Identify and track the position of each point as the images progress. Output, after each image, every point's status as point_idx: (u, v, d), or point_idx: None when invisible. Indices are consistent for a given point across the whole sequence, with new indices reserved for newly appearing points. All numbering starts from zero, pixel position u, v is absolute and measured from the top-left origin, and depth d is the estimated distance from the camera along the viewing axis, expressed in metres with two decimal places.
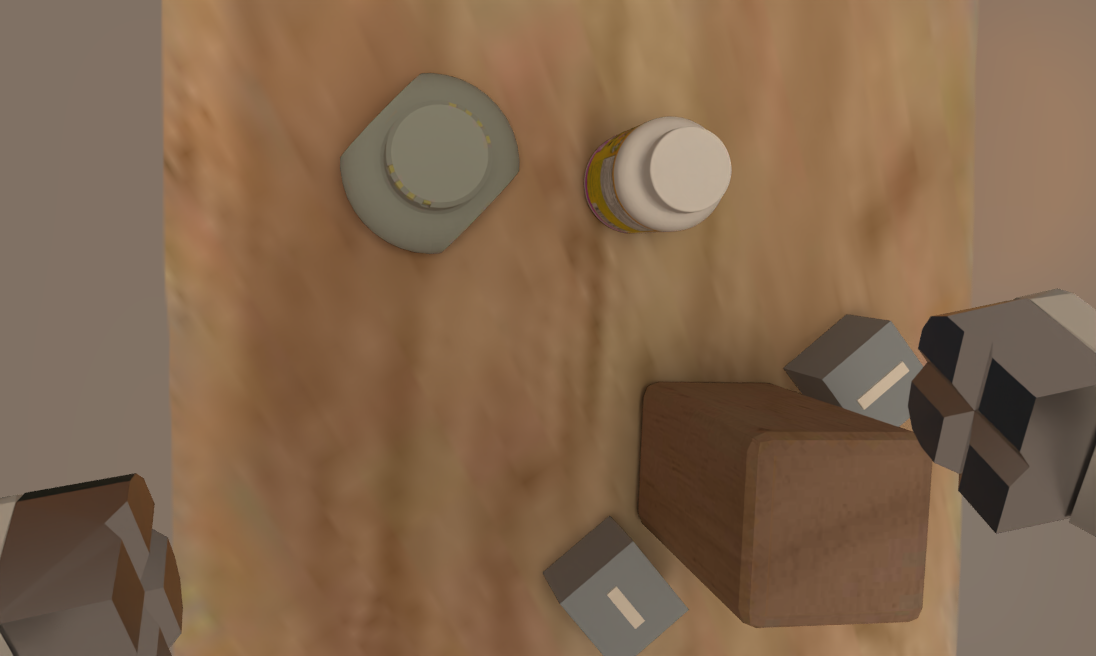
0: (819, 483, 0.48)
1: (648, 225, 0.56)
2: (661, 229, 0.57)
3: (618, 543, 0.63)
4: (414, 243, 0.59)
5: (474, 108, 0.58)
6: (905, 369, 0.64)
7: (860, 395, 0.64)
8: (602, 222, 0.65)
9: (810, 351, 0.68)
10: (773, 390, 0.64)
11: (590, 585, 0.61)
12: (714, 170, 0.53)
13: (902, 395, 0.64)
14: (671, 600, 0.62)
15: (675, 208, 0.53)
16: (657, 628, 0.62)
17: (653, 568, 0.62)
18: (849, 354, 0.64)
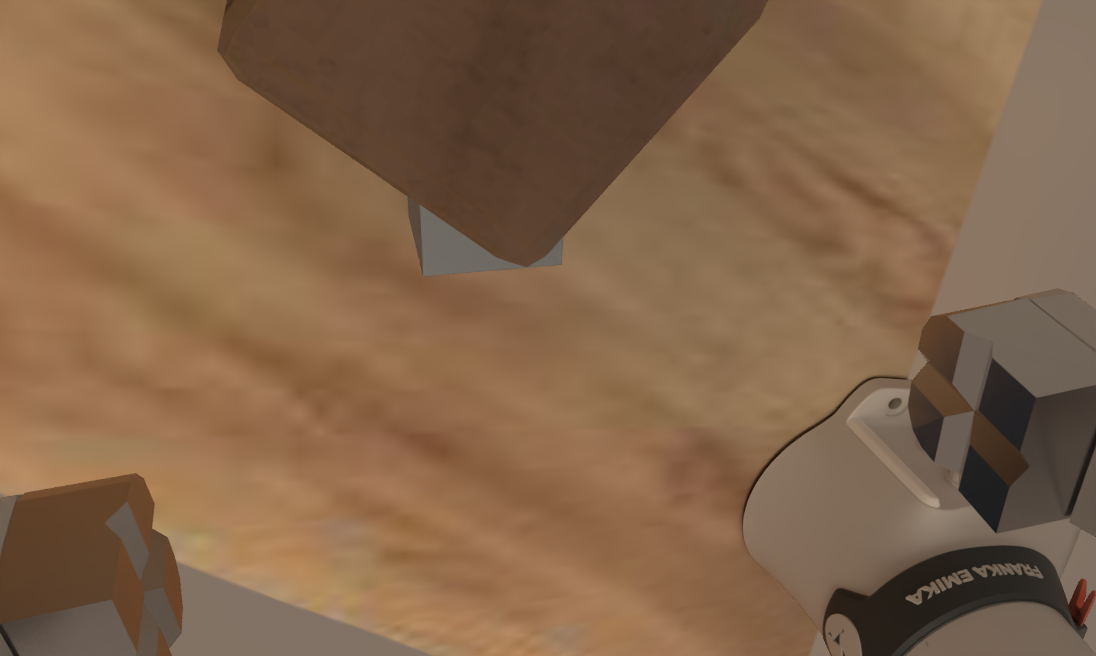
0: (379, 9, 0.22)
1: None
2: None
3: None
4: None
5: None
6: None
7: None
8: None
9: None
10: None
11: (430, 229, 0.40)
12: None
13: None
14: None
15: None
16: None
17: None
18: None
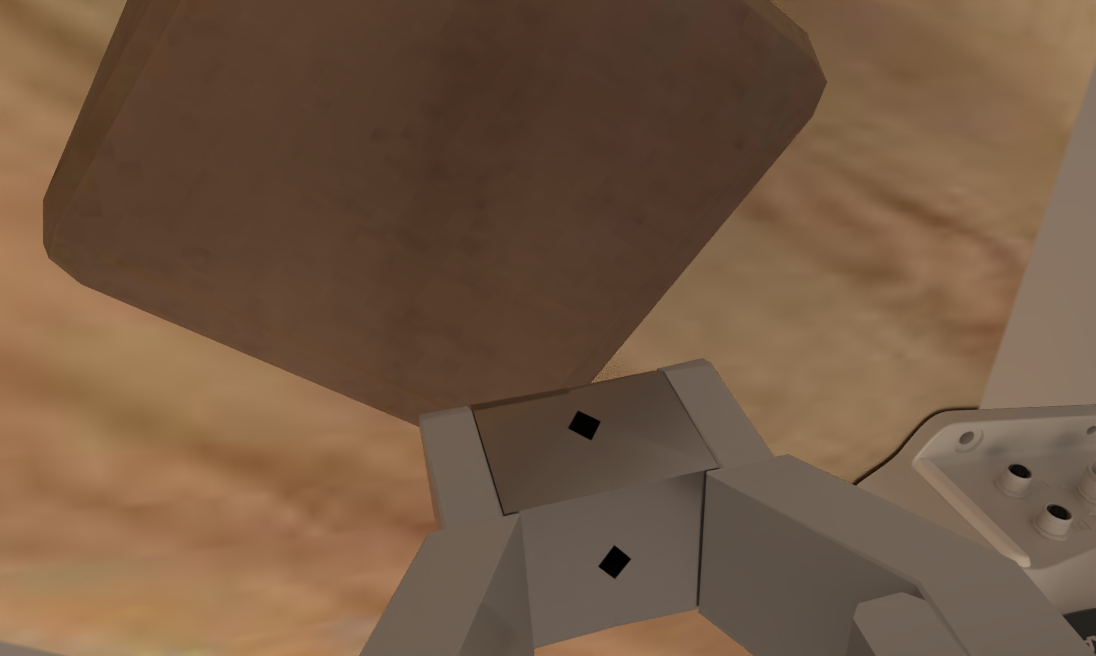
0: (261, 174, 0.15)
1: None
2: None
3: None
4: None
5: None
6: None
7: None
8: None
9: None
10: None
11: None
12: None
13: None
14: None
15: None
16: None
17: None
18: None
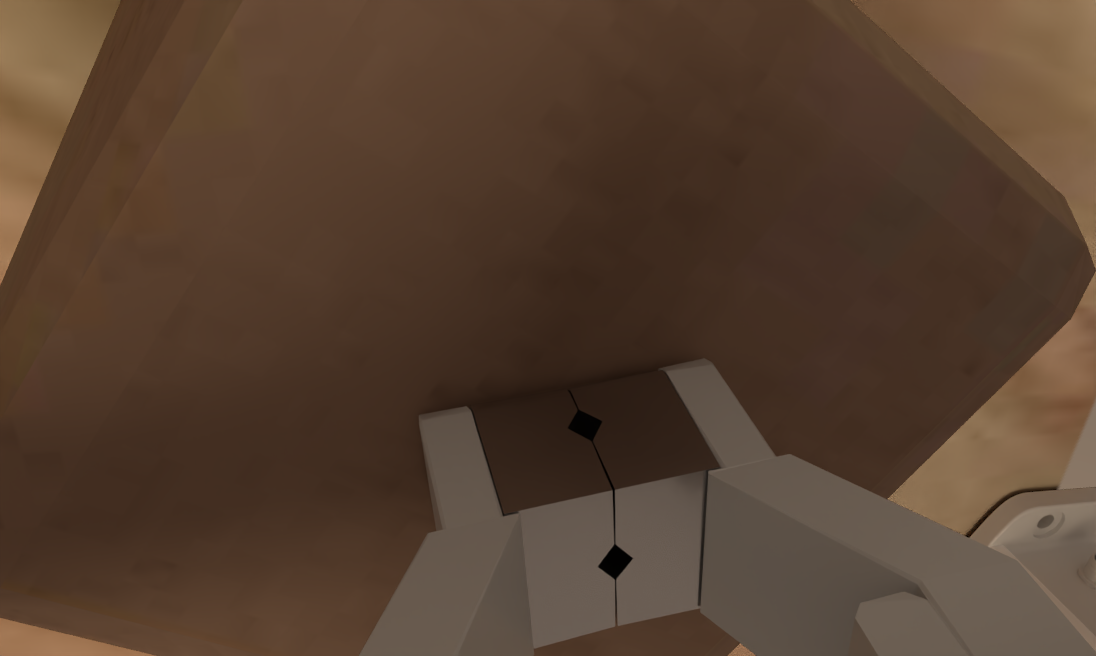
0: (257, 457, 0.09)
1: None
2: None
3: None
4: None
5: None
6: None
7: None
8: None
9: None
10: None
11: None
12: None
13: None
14: None
15: None
16: None
17: None
18: None
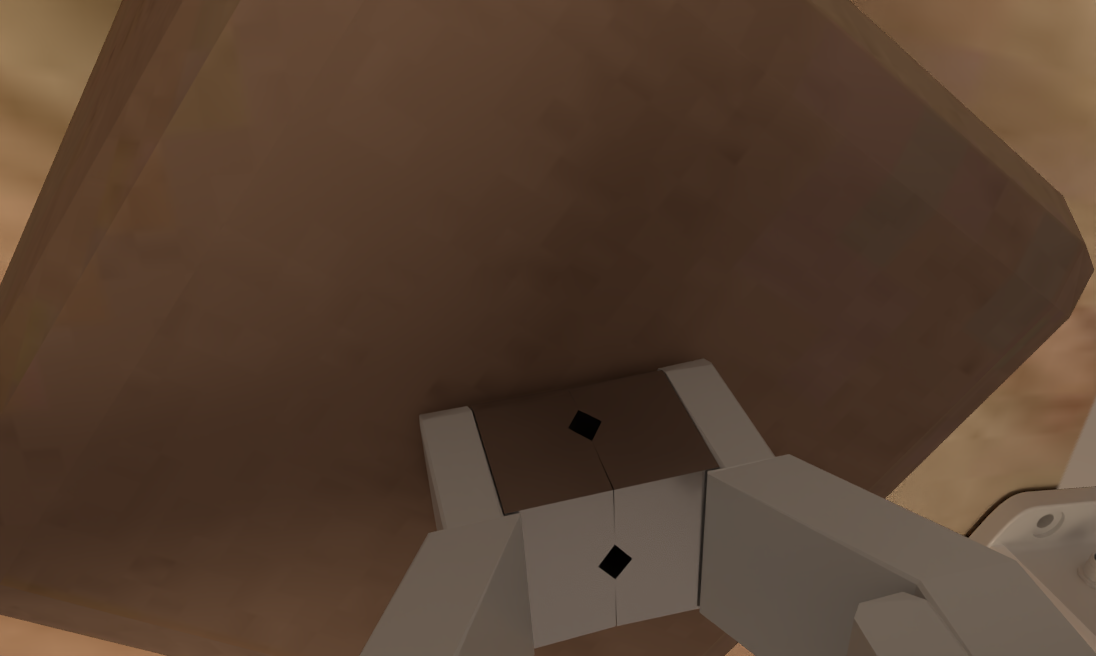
0: (255, 453, 0.09)
1: None
2: None
3: None
4: None
5: None
6: None
7: None
8: None
9: None
10: None
11: None
12: None
13: None
14: None
15: None
16: None
17: None
18: None
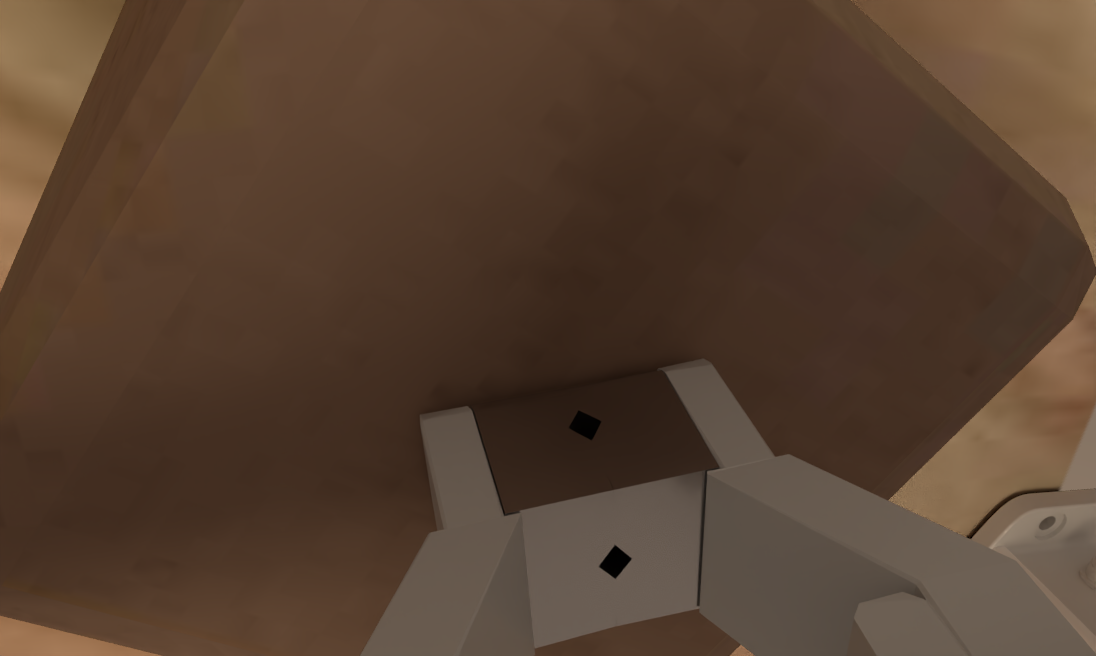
0: (258, 456, 0.09)
1: None
2: None
3: None
4: None
5: None
6: None
7: None
8: None
9: None
10: None
11: None
12: None
13: None
14: None
15: None
16: None
17: None
18: None
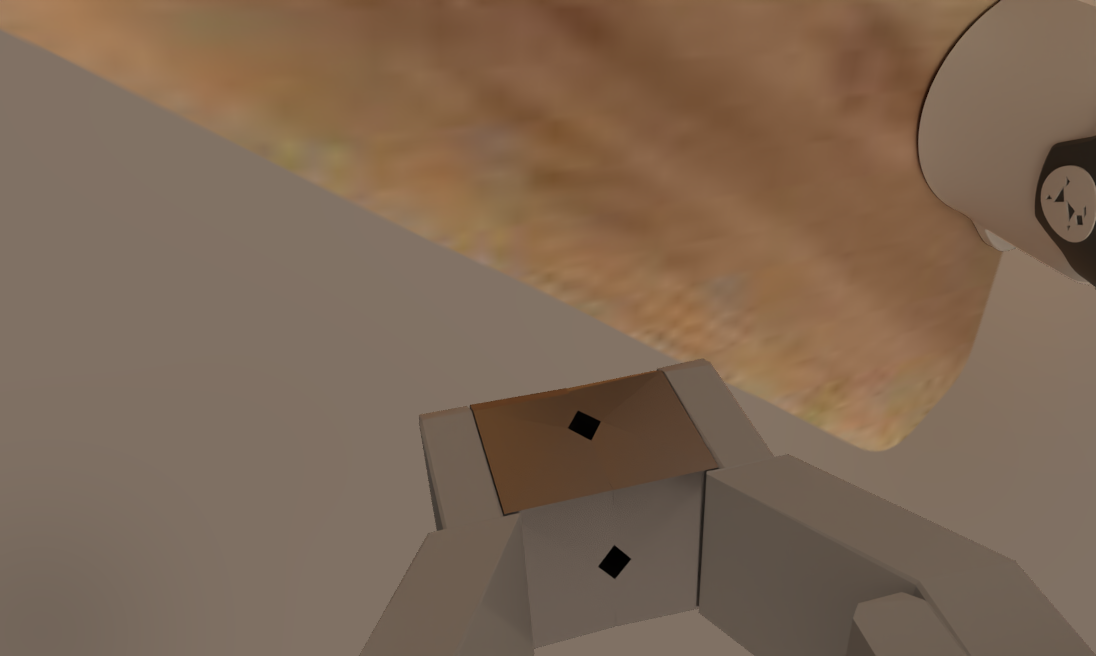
0: None
1: None
2: None
3: None
4: None
5: None
6: None
7: None
8: None
9: None
10: None
11: None
12: None
13: None
14: None
15: None
16: None
17: None
18: None
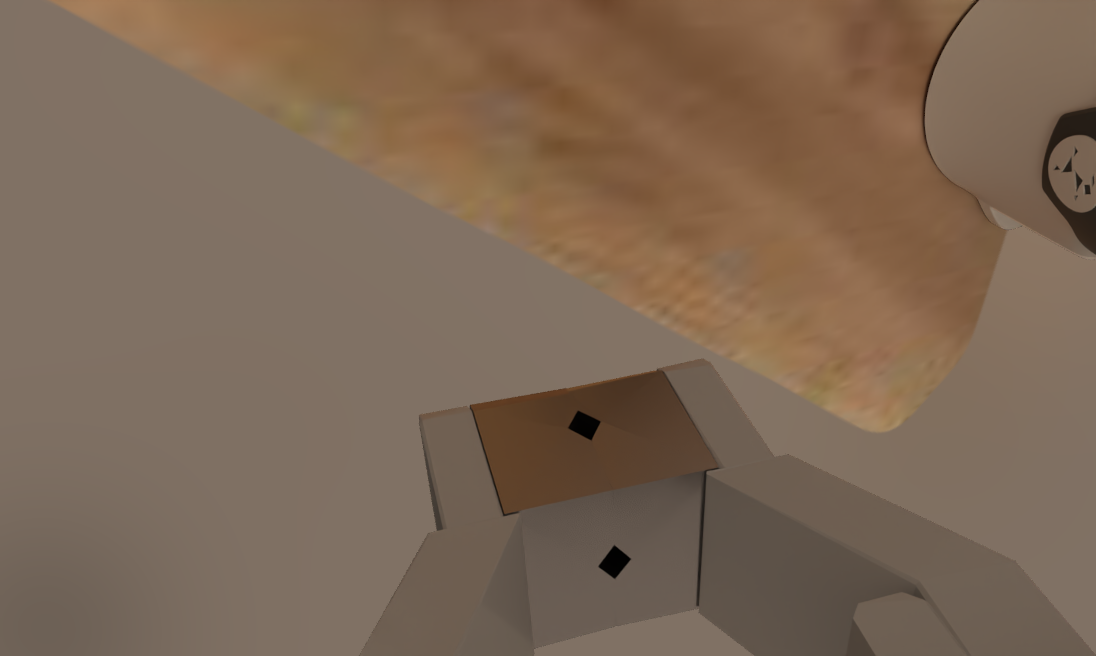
0: None
1: None
2: None
3: None
4: None
5: None
6: None
7: None
8: None
9: None
10: None
11: None
12: None
13: None
14: None
15: None
16: None
17: None
18: None
